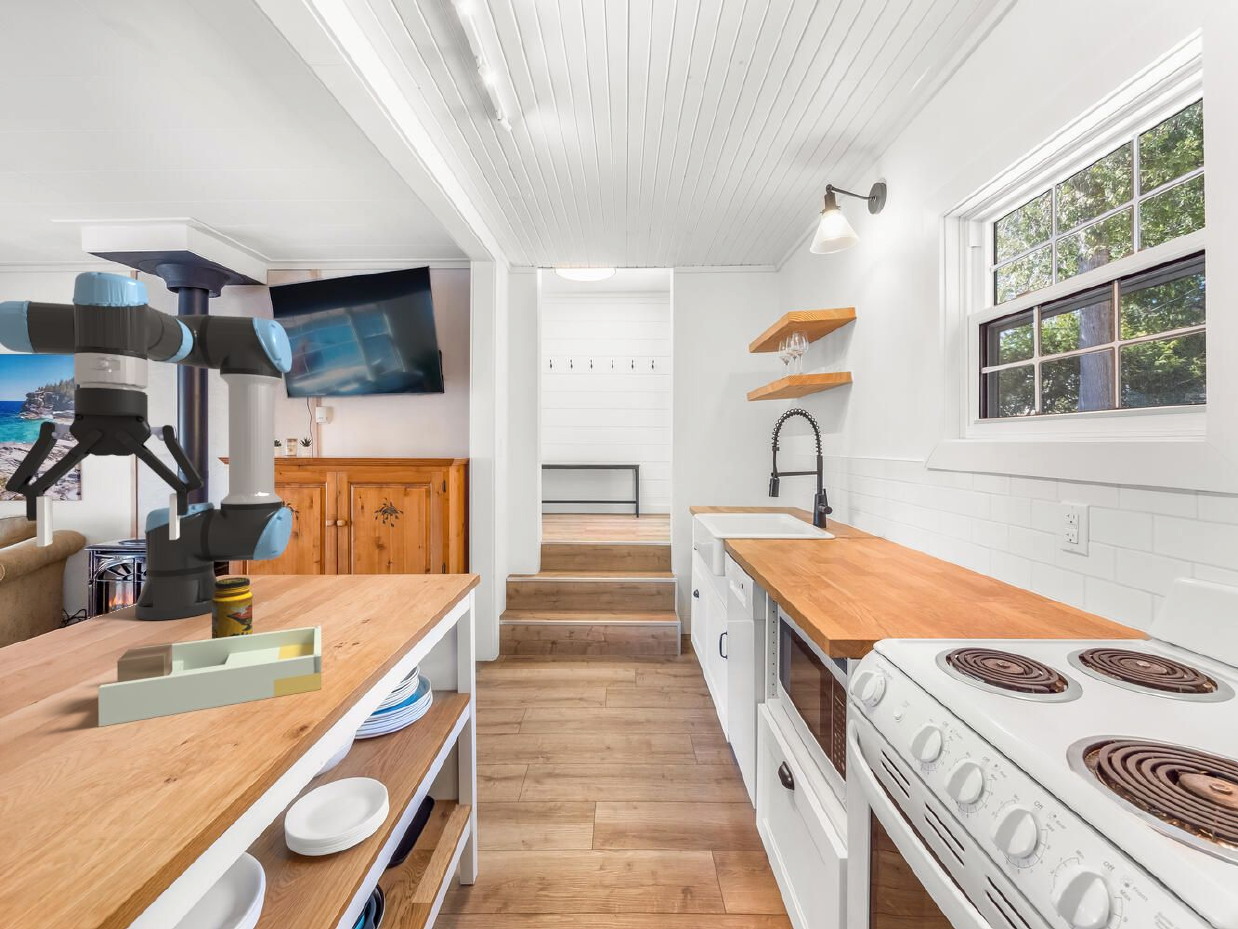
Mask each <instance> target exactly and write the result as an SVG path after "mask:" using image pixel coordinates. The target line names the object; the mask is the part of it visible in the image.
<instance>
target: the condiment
mask: <svg viewBox="0 0 1238 929" xmlns="http://www.w3.org/2000/svg"><path fill="white" fill-rule="evenodd" d="M250 580H251V579H249V577H248V578H247V577H239V576H238V577H230V578H229V577H228V578H222V579H219V580H217V582H216V583H215V585H214V586H215V590H214V593H215V595H214V597H213V598H212V612H211V639H216V638H224V637H232V636H241V635H249V634H254V632H253V594H252V592H251V591H250V590H251V587H250V586H251V585H250V584H251V581H250Z"/></svg>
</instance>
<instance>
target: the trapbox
mask: <svg viewBox="0 0 1238 929" xmlns="http://www.w3.org/2000/svg"><path fill="white" fill-rule="evenodd" d="M169 644H170V643H169ZM169 644H166V645H169ZM171 644H172V672H171V674H170V675H168V676H161V677H154V678H147V679H140V680H133V681H126V682H119V683H117V682H113V683H106V684H100V685H99V686H98V689H97V690H98V691H97V692H98V693H97V694H98V695H97V696H98V704H97V705H98V727H99V728H100V727H105V726H112V725H118V724H122V723H123V724H124V723H129V722H134V721H141V720H146V719H151V718H152V719H153V718H160V717H165V716H171V715H177V714H183V713H188V712H194V711H200V710H206V709H207V710H208V709H212V708H217V707H223V706H230V705H235V704H242V703H247V702H248V703H249V702H254V701H261V700H264V699H270V698H278V697H282V696H289V695H290V696H291V695H295V694H301V693H305V692H314V691H317V690H322V625H317V626H307V627H299V628H291V629H284V630H283V629H282V630H274V631H266V632H260V633H253V634H249V635H241V636H232V637H224V638H216V639H212V638H210V639H209V638H208V639H202V640H201V639H200V640H192V641H186V642H177V643H176V642H175V643H171ZM161 645H162V644H161ZM161 645H160V644H159V645H157V646H161ZM153 646H154V645H151V646H149V647H153ZM145 647H146V646H143V647H141V648H145ZM136 648H137V647H136ZM136 648H134V649H136Z"/></svg>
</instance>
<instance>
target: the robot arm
mask: <svg viewBox="0 0 1238 929" xmlns="http://www.w3.org/2000/svg"><path fill="white" fill-rule="evenodd" d="M148 297H149V295H148V289H147V287H146V285H145V284H144V283H143V282H142V281H140V280H138V279H136V278H134V277H130V276H127V275H121V274H118V273H111V272H105V271H104V272H103V271H100V272H99V271H86V272H82V273H79V274H78V275H76V277H75V280H74V289H73V297H72V299H71V300H72V303H73V304H69V303H60V302H59V303H58V302H57V303H56V302H41V301H31V300H25V301H24V300H23V301H22V300H21V301H20V300H19V301H18V300H6V301H3V302H0V345H1V346H3V347H4V348H6V349H7V350H9V351H13V352H18V353H29V354H33V355H39V354H40V355H41V354H42V355H43V354H44V355H64V356H65V355H66V356H69V355H72V356H73V365H74V366H73V367H74V368H73V369H74V370H73V371H74V373H73V374H74V375H73V377H74V378H73V379H74V380H73V381H74V383H75V384H76V385H78V386H79V385H80V387H77V388H76V389H74V391H73V394H74V395H73V397H74V398H73V400H74V404H73V406H74V410H73V411H74V412H73V413H74V418H73V421H72V423H71V424H64V423H57V422H55V421H48V420H47V421H46V420H45V421H43V422H42V423H40V428H39V434H38V438H37V440H36V441H35V442H34V444H33V445H32V447H31V448H30V450H29V451H28V453H27V454H26V455H25V456H24V458H23V460H22V461H21V463H20V464H19V465H18V467H17V468H16V470H15V471H14V473H13V474H12V476H10V478H9V480H8V481H7V483H6V484H5V486H4V489H5V490H6V491H7V492H10V493H16V494H20V495H23V496H24V497H25V499H26V500H25V502H26V503H25V504H26V505H25V507H26V511H25V513H26V514H25V515H26V516H25V518H26V520H27V521H28V522H34V521H35V522H36V547H37V548H41V547H43V548H45V547H47V546H50V545H52V544H53V535H54V534H53V532H54V530H53V529H54V528H53V513H54V512H53V495H46V492H47V491H48V490H50V488H52V487H53V486H54V485H56V483H57V482H58V481H60V480H61V479H62V478H63V477H64V476H66V474H68V473H69V472H70V471H71V470H72V469H74V468H75V467H76V466H77V465H78V464H79V463H80V462H81V461H83V460H84V459H86V458H88V456H90V455H93V456H95V457H96V456H97V457H100V456H101V457H103V456H104V457H105V456H106V457H108V456H111V455H112V456H116V457H129V456H131V455H135V456H136V457H137V458H138V459H139V460H141V461H142V462H143V463H144V464H146V465H147V467H149V468H150V469H151V470H152V471H153V472H154V473H155V474H156V475H158V477H160V479H162V480H163V481H164V482H165V483H167V485H168V486H169V487H171V488H172V489H173V490H174V491H175V492H176V493H175V492H172V493H170V494H169V497H168V498H169V502H168V503H169V507H163V508H157V509H153V510H151V511H150V512H149V513H147V516H146V521H145V529H144V534H145V569H146V570H145V575H146V576H145V577H146V578H145V581H144V583H143V586H142V589H141V591H140V595H139V596H138V599H137V601H136V604H135V608H134V609H135V615H134V616H135V618H136V619H138V620H145V621H164V620H165V621H166V620H176V619H183V618H185V619H186V618H190V617H194V616H199V615H200V616H201V615H204V614H208V613H212V598H213V597H214V595H215V593H214V590H215V586H214V585H215V583H216V582H217V581H218V579H217V577H216V574H215V571H214V569H215V568H214V567H215V566H214V563H215V562H219V563H220V562H221V563H222V562H238V561H241V562H242V561H243V562H245V561H253V562H259V561H267V560H275V559H277V558H279V557H281V556H282V554H283V553H284V552H285V550H286V548H287V546H288V544H289V541H290V537H291V533H292V527H293V516H292V511H291V509H289V507H285V506H283V499H282V498H281V497H280V496H279V495H278V494H276V491H275V388H276V386H278V385H279V384H280V383H282V381H283V374H286V373H288V372H290V371H291V369H292V364H293V357H292V356H293V355H292V354H293V353H292V349H291V343H290V341H289V338H288V334H287V332H286V330H285V329H284V327H283V326H282V324H280V323H279V322H278V321H276V320H274V319H268V318H259V317H256V316H255V317H252V316H251V317H249V316H248V317H247V316H245V317H244V316H231V315H230V316H229V315H210V314H184V315H183V314H182V315H181V314H180V315H172V314H168V313H166V312H163V311H160V310H158V309H155V308H154V307H152V306H150V305H149V303H150V299H149V298H148ZM148 360H151V361H153V362H155V363H156V362H157V363H158V362H159V363H164V364H175V365H182V366H188V367H193V368H198V369H210V370H219V377H220V378H221V380H223V381H224V382H226V384H227V386H228V387H227V388H228V390H227V391H228V493H227V496H225V497H224V498H223V499H221V500H220V508H216V507H215V505H214V503H213V502H200V503H192V504H189V501H190V498H189V497H190V496H189V495H190V493H191V492H192V491H195V490H198V489H201V488H202V487H205V483H204V481H203V479H202V477H201V475H200V474H199V472H198V471H197V469H196V468H195V466H194V464H193V462H192V461H191V460H190V458H189V457H188V455H187V453H186V452H185V450H184V448H183V447H182V445H181V443H180V442H179V438H178V433H177V429H176V426H174V425H170V424H165V425H164V426H151V425H150V424H149V420H148V419H149V417H148V415H149V412H148V411H149V410H148V407H149V404H148V401H149V399H148V398H149V397H148V394H147V393H146V392H144V391H143V390H145V389H147V388H148V387H149V382H148V381H149V379H148V378H149V376H148V375H149V373H148V372H149V370H148V368H149V367H148V364H149V363H148V362H149V361H148ZM67 434H70V435H71V436H72V437H73V438H74V439H75V440H76V441H77V442H78V443H77V444H75V446H73V447H72V448H71V449H70V450H68V452H67V454H65V455H64V456H63V457H62V458H60V459H59V460H58V461H57V462H56V463H55V464H53V465H52V466H51V467H50V468H49V469H48V470H46V472H44V473H43V474H42V475H41V476H40V477H39V478H37V479H36V480H35V481H34V482H33V483H32V484H30V482H31V481H32V479H33V478H34V476H36V473H37V472H38V471H39V469H40V468H41V466H42V464H43V463H44V461H45V460H46V459H47V458H48V456H49V455H50V453H51V452H52V451H53V449H54V447H55V446H56V444H57V442H58V440H62V439H63V438H64V437H65V436H66V435H67ZM152 435H154V436H156V438H157V439H158V440H159V441H160V442H161V441H162V442H164V444H165V446H166V448H167V449H168V451H169V453H170V454H171V456H172V458H173V459H174V461H175V462H176V464H177V465H178V467H179V469H180V470H181V472H182V473H183V475H184V476H185V478H186V480H187V482H186V483H185V482H184V481H183V480H182V479H181V478H180V477H179V476H178V475H177V474H176V473H174V472H173V471H172V470H171V469H170V468H169V467H168V466H167V465H166V464H165V463H164V462H163V461H161V459H159V458H158V456H156V455H155V454H154V453H153V452H152V451H151V449H150V448H148V447H147V446H146V445H145V443H146V442H147V441H148V440H149V439H150V437H151V436H152Z"/></svg>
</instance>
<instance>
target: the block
mask: <svg viewBox="0 0 1238 929" xmlns="http://www.w3.org/2000/svg"><path fill="white" fill-rule="evenodd" d="M172 644H173V643H169V645H167V644H161V646H158V645H152V646H153V647H150V646H144V647H145V648H142V647H136V649H135V648H130V649H129V648H128V650H127V651H126V652H124V653H123V655H121V657H120V658H118V660H117V663H116V664H117V665H116V666H117V668H116V669H117V670H116V671H117V672H116V673H117V682H116V683H119V682H126V681H133V680H140V679H147V678H154V677H161V676H168V675H170V674H171V672H172Z"/></svg>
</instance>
